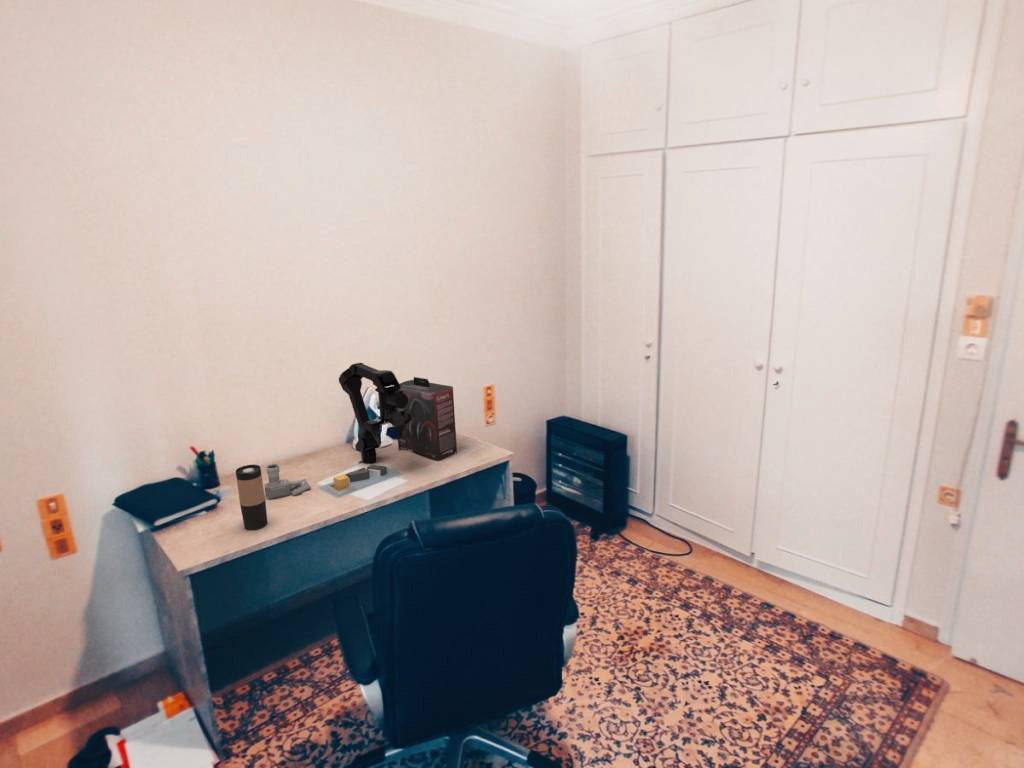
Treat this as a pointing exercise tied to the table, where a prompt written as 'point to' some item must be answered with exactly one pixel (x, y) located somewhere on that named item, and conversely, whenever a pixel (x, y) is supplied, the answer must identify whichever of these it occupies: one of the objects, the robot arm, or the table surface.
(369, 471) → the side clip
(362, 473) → the charcoal brick
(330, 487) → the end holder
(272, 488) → the grey angular model part
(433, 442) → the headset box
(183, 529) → the table surface
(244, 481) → the travel mug
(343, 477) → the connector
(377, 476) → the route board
